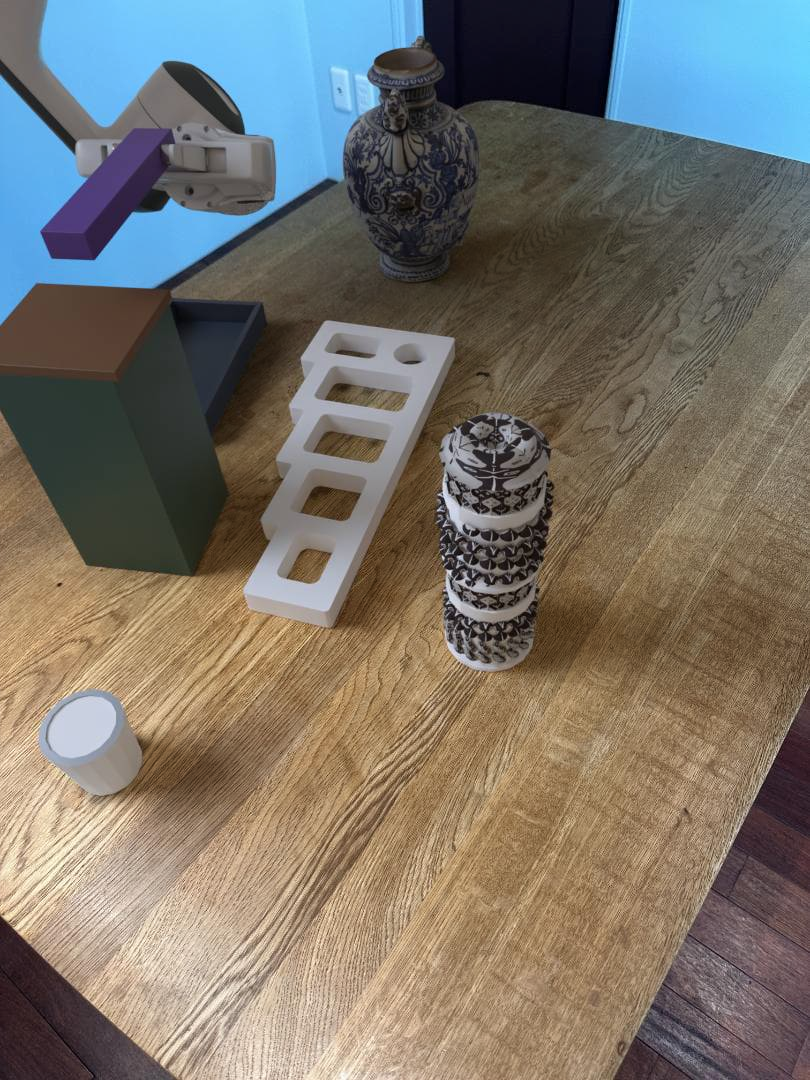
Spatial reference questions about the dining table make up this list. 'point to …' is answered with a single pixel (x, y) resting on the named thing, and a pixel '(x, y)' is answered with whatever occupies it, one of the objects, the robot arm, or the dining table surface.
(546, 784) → the dining table surface
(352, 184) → the decorative vase
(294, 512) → the holder
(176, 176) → the robot arm
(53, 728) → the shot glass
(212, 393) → the tray
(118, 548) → the brown-capped green pillar
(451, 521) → the decorative candle
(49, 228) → the purple bar
